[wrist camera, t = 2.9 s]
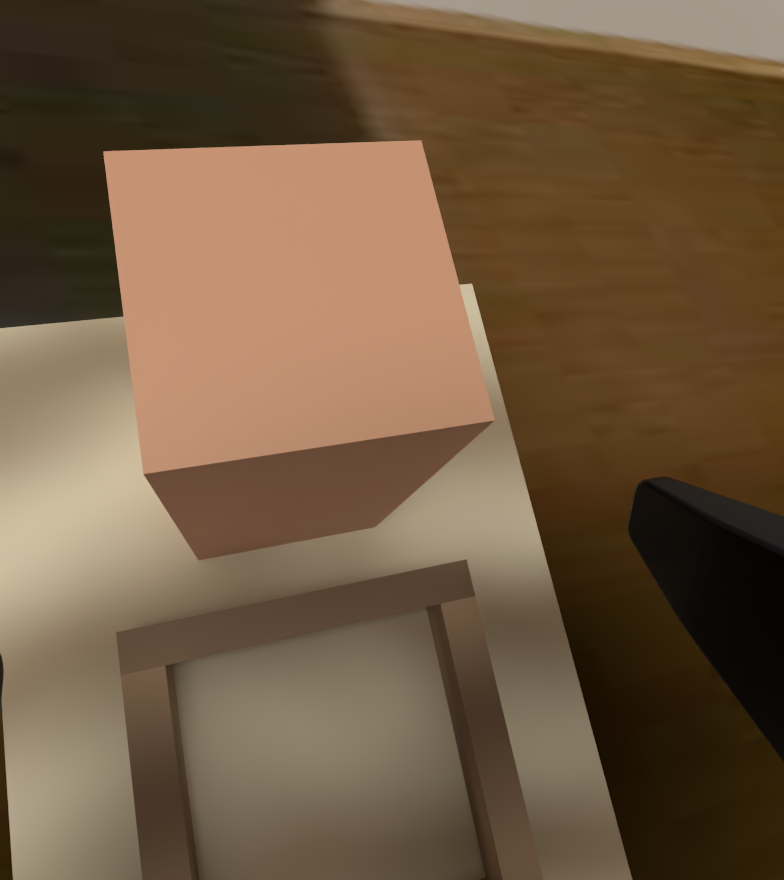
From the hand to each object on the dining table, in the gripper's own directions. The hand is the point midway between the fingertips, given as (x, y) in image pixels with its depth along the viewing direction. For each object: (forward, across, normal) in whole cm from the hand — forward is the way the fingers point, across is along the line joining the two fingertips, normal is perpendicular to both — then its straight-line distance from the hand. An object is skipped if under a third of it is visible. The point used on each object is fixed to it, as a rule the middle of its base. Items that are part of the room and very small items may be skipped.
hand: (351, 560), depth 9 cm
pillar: (+10, 0, +4) cm, 11 cm away
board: (+7, 0, +8) cm, 11 cm away
